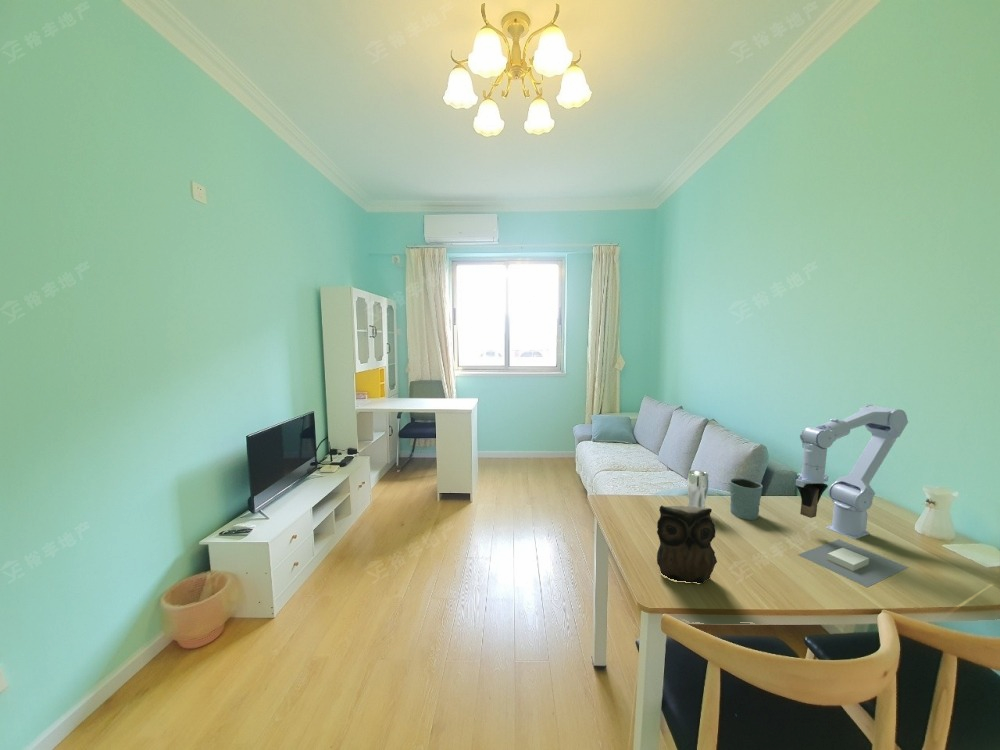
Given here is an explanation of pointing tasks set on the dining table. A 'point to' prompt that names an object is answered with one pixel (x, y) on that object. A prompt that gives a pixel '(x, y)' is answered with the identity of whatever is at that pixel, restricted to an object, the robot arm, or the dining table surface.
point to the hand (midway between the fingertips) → (809, 504)
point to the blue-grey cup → (745, 498)
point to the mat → (865, 576)
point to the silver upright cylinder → (697, 488)
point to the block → (811, 510)
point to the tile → (848, 559)
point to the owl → (686, 543)
